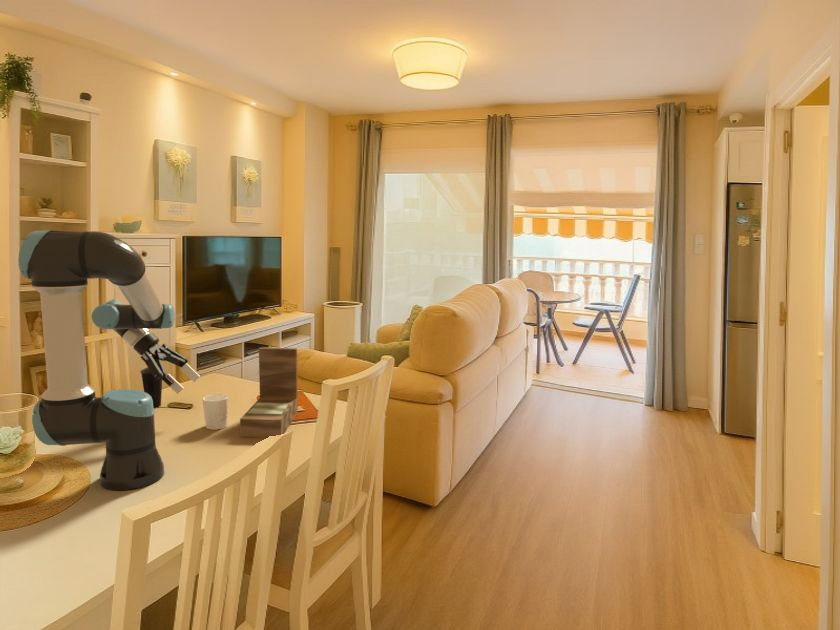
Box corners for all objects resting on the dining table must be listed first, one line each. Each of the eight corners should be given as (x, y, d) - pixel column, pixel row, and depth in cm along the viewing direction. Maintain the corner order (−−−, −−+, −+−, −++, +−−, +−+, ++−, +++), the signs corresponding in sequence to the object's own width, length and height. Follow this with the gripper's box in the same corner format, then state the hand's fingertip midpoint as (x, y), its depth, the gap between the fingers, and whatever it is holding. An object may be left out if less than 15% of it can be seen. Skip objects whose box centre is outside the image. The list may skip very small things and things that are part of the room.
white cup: (220, 431, 182) (219, 402, 180) (198, 429, 183) (197, 400, 182) (233, 423, 189) (232, 395, 188) (212, 421, 191) (211, 393, 189)
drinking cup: (169, 405, 206) (166, 352, 203) (150, 410, 200) (147, 356, 197) (157, 401, 210) (154, 349, 207) (137, 406, 204) (134, 353, 201)
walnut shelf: (281, 438, 177) (280, 365, 174) (240, 437, 177) (238, 363, 174) (297, 413, 201) (296, 348, 197) (261, 412, 201) (260, 347, 197)
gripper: (152, 339, 195) (196, 381, 197) (113, 356, 170) (164, 404, 173) (166, 324, 194) (211, 367, 196) (129, 339, 169) (181, 388, 172)
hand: (189, 384), depth 184 cm, fingers open, 13 cm apart
